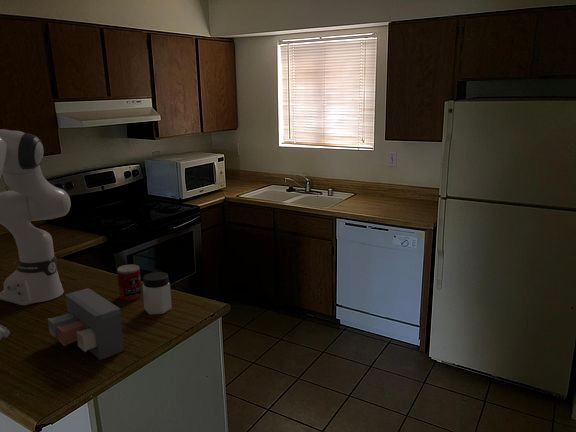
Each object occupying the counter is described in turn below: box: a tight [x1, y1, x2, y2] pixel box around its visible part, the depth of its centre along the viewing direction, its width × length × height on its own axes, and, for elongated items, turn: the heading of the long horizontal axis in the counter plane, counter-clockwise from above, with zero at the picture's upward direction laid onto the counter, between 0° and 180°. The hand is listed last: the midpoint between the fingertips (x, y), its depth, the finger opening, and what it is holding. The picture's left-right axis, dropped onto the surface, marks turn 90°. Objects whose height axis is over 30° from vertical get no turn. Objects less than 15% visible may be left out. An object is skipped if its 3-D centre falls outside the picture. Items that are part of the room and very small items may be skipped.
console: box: [64, 287, 125, 361], centre depth 141 cm, size 7×21×13 cm, turn 45°
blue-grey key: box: [47, 313, 76, 338], centre depth 142 cm, size 8×4×4 cm, turn 135°
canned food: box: [116, 263, 143, 302], centre depth 174 cm, size 8×8×11 cm
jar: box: [142, 271, 173, 315], centre depth 163 cm, size 9×8×12 cm
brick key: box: [57, 320, 86, 347], centre depth 138 cm, size 8×4×4 cm, turn 135°
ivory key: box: [76, 328, 97, 353], centre depth 135 cm, size 8×4×4 cm, turn 135°
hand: (6, 333), depth 125 cm, fingers closed
